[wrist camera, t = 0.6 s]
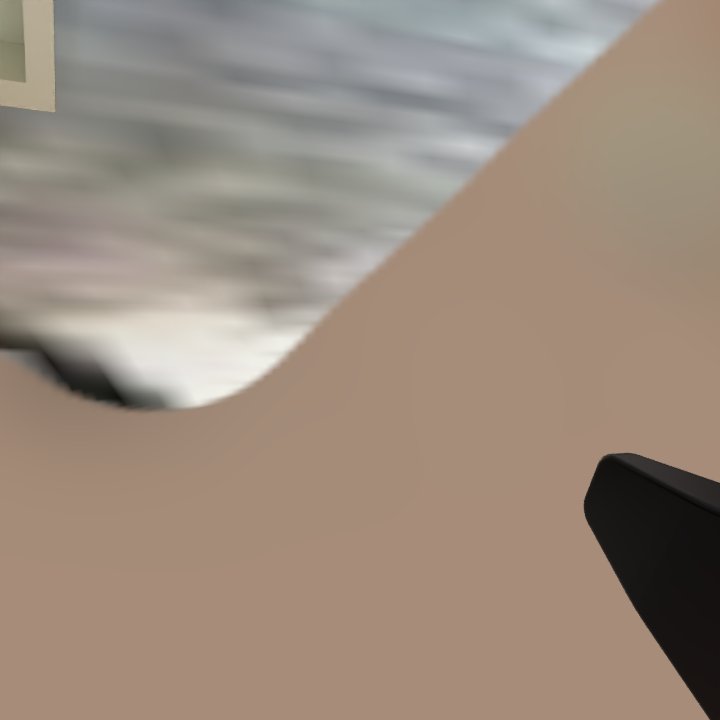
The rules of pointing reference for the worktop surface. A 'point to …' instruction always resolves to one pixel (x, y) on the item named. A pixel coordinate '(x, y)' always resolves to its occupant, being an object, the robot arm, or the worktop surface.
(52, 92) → the tray
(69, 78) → the worktop surface
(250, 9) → the worktop surface
